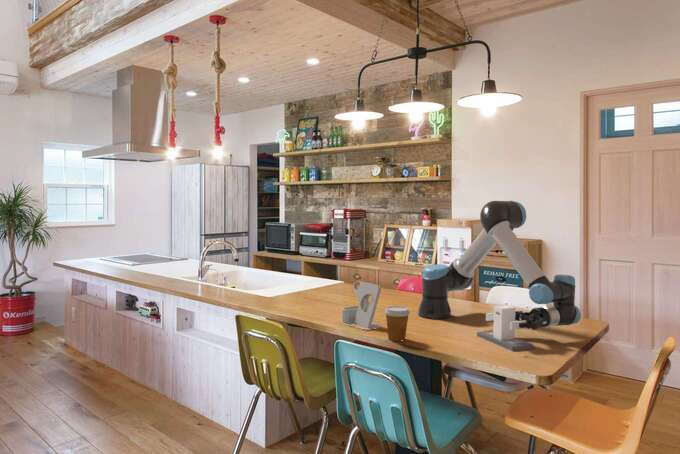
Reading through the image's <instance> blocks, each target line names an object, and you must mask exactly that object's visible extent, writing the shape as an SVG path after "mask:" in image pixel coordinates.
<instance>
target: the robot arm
mask: <svg viewBox="0 0 680 454" xmlns="http://www.w3.org/2000/svg"><path fill="white" fill-rule="evenodd" d="M479 213H480V214H479V216H480V217H479V219H480V224H481V226H482V230H481V231H480V232H479V233H478V235H477V236H476V238H475V239H474V240H472V242H471V244H470V245H469V246H468V247H467V249H466V250H465V251H464V252H463V254H462V255H461V256H460V257H459V258H455V259H454V260H453V261H452V262H451V263H450V265H446V264H441V263H437V264H430V265H427V266H425V267H423V270H422V275H421V276H422V277H421V278H422V285H421V286H422V287H421V289H422V290H421V291H422V294H421V295H422V297H421V301H420V304H419V307H418V309H417V314H418V316H420V317H422V318H425V319H430V320H431V319H433V320H444V319H449V318H451V317H452V310H451V306H450V304H449V299H448V297H449V296H448V294H449V292H455V291H456V292H457V291H463V290H465V289H468V288H470V287H471V286H472V284H473V283H474V280H475V279H474V276H475V274H476V273H475V270H476V269H477V268H478V266H479V265H480V264H481V263H482V262H483V261H484V259H485V258H486V257H487V256H488V254H490V252H491V251H492V250H493V249H494V247H495V246H496V245H498V246H499V248H500V249H501V250H502V251H503V253H504V254H505V256H506V258H507V259H508V260H509V261H510V263H511V265H512V266H513V267H514V269H515V270H516V272H518V275H519V276H520V277H521V278H522V280H523V282H524V283H525V284H526V285H527V287H528V288H529V290H528V294H529V299H530V300H531V301H532V302H533V303H534V304H537V305H548V304H550V303H553V306H552V305H551V306H541V307H533V308H532V309H531V310H530V311H523V310H515V321H514V322H510V330H515V331H516V330H523V329H524V330H525V329H528V330H530V329H531V330H532V331H536V330H538V329H539V328H542V329H543V328H549V329H550V328H551V327H559V326H570V325H575V324H577V323H579V322H580V320H581V318H582V317H581V316H582V313H581V310H580V308H579V307H578V306H576V305H575V302H576V301H575V299H576V298H575V297H576V296H575V295H576V278H575V277H574V276H573V275H571V274H570V275H568V274H555V275H554V277H553V281H550V280H549V278H548V277H547V276H546V275H545V273H544V272H543V270H542V269H541V267H540V266H539V265H538V264H537V262H536V261H535V260H534V258H533V257H532V256H531V254H530V253H529V252H528V251H527V249H526V248H525V246H524V245H523V243H522V242H521V241H520V240H519V238H518V236H517V235H516V233H515V232H514V231H513V230H515V229H518V228H521V227H522V226H524V225H525V223H526V221H527V211H526V208H525V206H524V205H523V204H522V203H520V202H518V201H514V200H491V201H489V202H487V203H485V205H483V206H482V208H481V210H480V212H479ZM485 321H486V322H487V321H488V322H489V321H491V322H492V321H494V312H488V313H485Z"/></svg>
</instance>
